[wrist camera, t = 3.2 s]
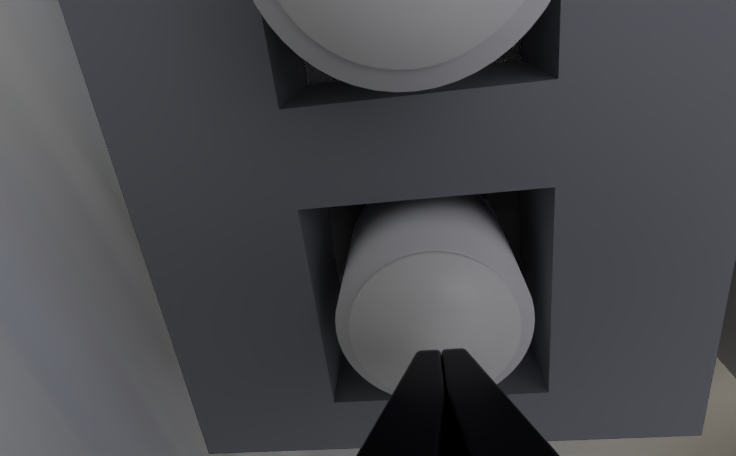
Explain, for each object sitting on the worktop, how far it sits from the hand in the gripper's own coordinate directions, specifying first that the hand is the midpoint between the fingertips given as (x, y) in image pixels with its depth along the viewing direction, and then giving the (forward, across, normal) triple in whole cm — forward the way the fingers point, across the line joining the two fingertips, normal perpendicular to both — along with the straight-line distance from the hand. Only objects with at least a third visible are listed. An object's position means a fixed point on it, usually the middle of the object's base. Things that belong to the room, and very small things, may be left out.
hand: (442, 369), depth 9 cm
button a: (+5, 0, 0) cm, 5 cm away
